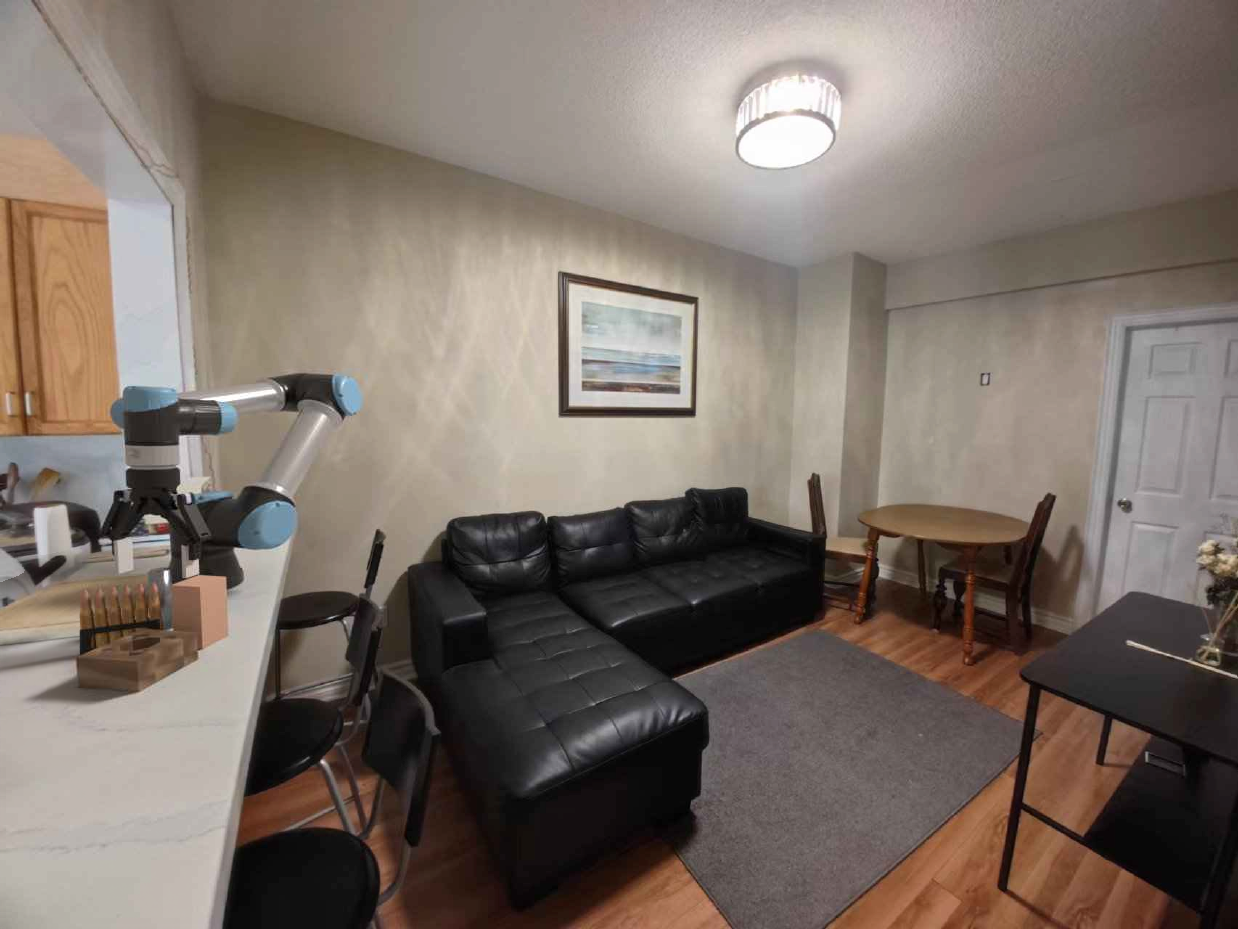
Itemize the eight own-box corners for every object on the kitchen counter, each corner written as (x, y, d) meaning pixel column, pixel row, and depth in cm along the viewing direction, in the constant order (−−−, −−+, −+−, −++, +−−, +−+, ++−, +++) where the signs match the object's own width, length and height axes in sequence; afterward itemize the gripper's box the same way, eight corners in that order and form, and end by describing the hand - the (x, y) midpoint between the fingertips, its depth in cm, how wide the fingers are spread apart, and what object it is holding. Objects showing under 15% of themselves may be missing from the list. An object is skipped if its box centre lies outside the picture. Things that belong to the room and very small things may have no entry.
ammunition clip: (79, 658, 83) (74, 592, 81) (84, 653, 84) (79, 588, 83) (162, 645, 88) (158, 583, 87) (165, 641, 90) (161, 580, 88)
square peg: (201, 634, 93) (198, 575, 92) (228, 635, 93) (226, 576, 91) (174, 647, 87) (170, 585, 86) (202, 649, 87) (199, 587, 86)
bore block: (144, 655, 84) (142, 628, 84) (198, 659, 84) (196, 632, 83) (78, 687, 74) (75, 657, 74) (139, 691, 74) (137, 661, 73)
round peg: (162, 623, 96) (159, 566, 95) (178, 624, 96) (176, 567, 95) (145, 631, 93) (142, 572, 92) (162, 632, 93) (159, 573, 91)
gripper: (68, 465, 88) (74, 576, 90) (197, 472, 87) (201, 584, 89) (112, 461, 95) (117, 564, 97) (232, 468, 94) (235, 571, 96)
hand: (157, 574), depth 93 cm, fingers open, 13 cm apart
